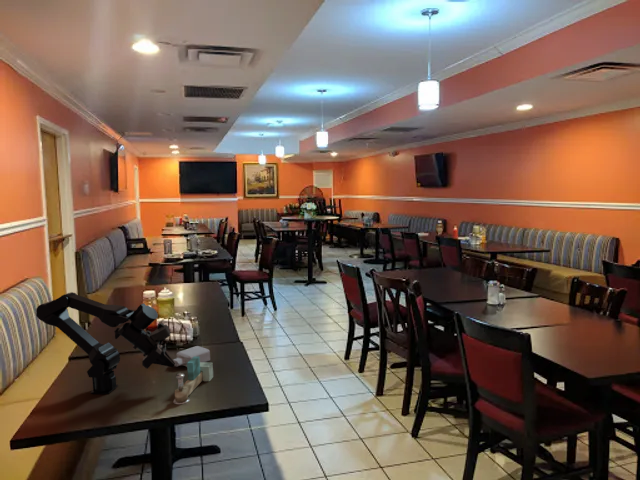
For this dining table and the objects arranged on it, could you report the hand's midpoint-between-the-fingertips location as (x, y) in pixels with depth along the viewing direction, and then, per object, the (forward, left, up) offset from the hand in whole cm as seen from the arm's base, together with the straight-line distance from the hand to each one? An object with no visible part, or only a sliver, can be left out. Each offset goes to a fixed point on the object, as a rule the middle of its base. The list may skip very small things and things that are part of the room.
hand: (174, 365), depth 160 cm
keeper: (+7, +8, -8) cm, 13 cm away
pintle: (+6, -9, -8) cm, 14 cm away
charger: (-4, +21, -8) cm, 23 cm away
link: (+6, -1, -7) cm, 10 cm away
